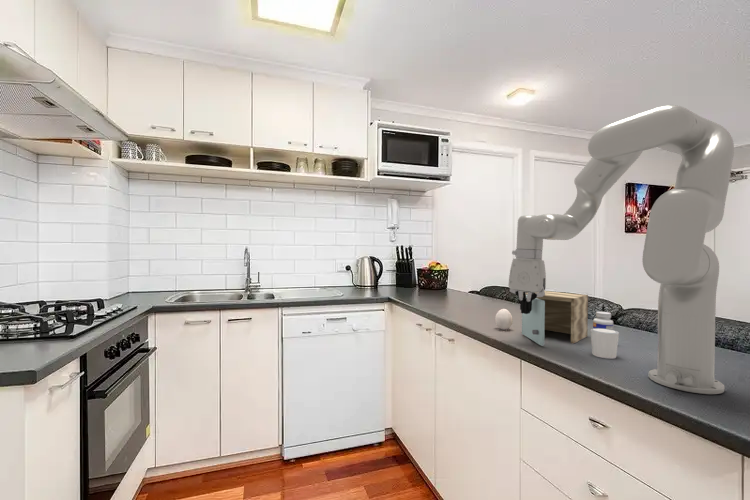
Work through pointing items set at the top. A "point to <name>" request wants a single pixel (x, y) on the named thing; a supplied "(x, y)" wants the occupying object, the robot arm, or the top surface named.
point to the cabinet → (566, 314)
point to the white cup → (604, 342)
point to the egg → (503, 319)
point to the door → (535, 322)
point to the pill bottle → (603, 321)
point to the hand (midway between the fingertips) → (525, 313)
